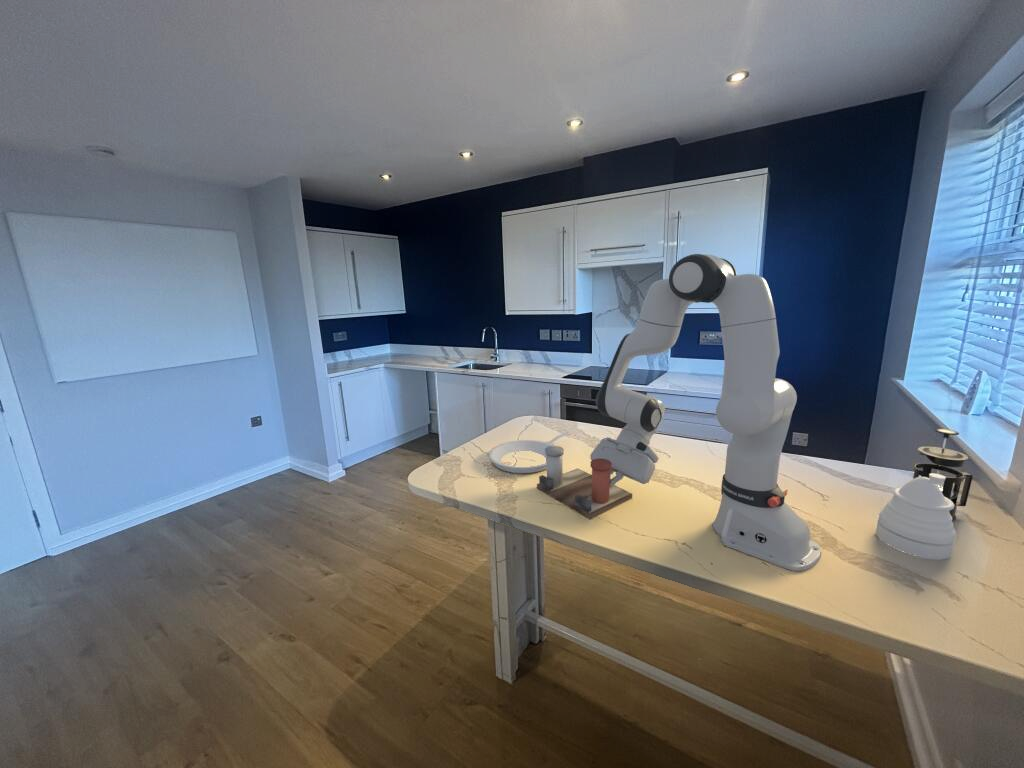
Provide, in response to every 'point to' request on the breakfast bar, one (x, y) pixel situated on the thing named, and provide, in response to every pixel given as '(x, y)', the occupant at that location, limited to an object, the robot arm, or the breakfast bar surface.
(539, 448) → the pan
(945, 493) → the french press
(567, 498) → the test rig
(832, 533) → the breakfast bar surface
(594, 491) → the red plug
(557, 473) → the grey plug
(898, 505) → the honey pot
